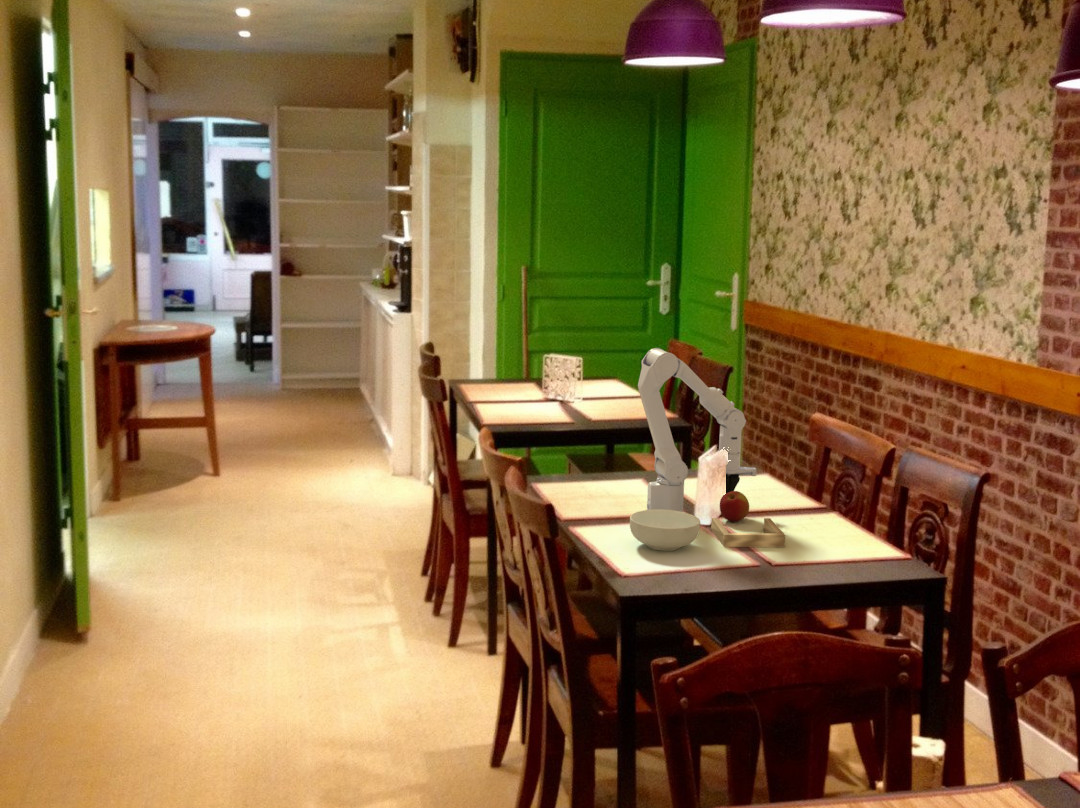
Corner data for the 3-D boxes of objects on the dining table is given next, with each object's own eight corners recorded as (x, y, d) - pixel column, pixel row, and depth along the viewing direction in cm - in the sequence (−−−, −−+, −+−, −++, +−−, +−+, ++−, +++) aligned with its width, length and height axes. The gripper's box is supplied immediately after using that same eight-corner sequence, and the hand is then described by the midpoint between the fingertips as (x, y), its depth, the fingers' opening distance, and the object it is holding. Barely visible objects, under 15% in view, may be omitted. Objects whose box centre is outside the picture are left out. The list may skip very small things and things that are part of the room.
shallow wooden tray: (723, 546, 307) (724, 534, 307) (711, 529, 323) (711, 517, 322) (784, 547, 308) (785, 535, 308) (769, 529, 324) (770, 518, 323)
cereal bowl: (642, 558, 297) (643, 529, 296) (619, 538, 313) (620, 510, 311) (710, 554, 301) (711, 525, 300) (683, 535, 317) (685, 507, 316)
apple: (712, 518, 333) (714, 489, 332) (740, 516, 336) (741, 487, 335) (727, 526, 326) (728, 495, 325) (754, 523, 329) (756, 493, 328)
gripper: (705, 455, 332) (703, 505, 335) (760, 455, 333) (757, 505, 336) (700, 449, 339) (698, 498, 342) (753, 449, 340) (751, 499, 343)
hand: (727, 501), depth 339 cm, fingers closed
